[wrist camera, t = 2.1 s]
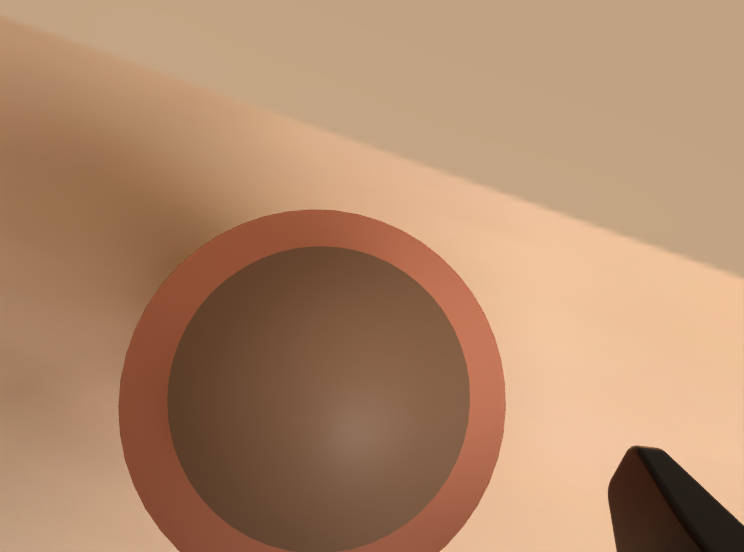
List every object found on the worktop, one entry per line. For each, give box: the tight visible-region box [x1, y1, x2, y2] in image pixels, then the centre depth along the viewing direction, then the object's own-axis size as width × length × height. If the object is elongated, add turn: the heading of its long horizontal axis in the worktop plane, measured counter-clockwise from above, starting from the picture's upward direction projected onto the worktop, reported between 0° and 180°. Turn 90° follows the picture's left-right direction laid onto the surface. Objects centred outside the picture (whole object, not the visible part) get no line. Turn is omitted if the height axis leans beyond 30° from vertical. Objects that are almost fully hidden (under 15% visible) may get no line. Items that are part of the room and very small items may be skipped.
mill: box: [119, 210, 506, 552], centre depth 12 cm, size 4×4×11 cm
